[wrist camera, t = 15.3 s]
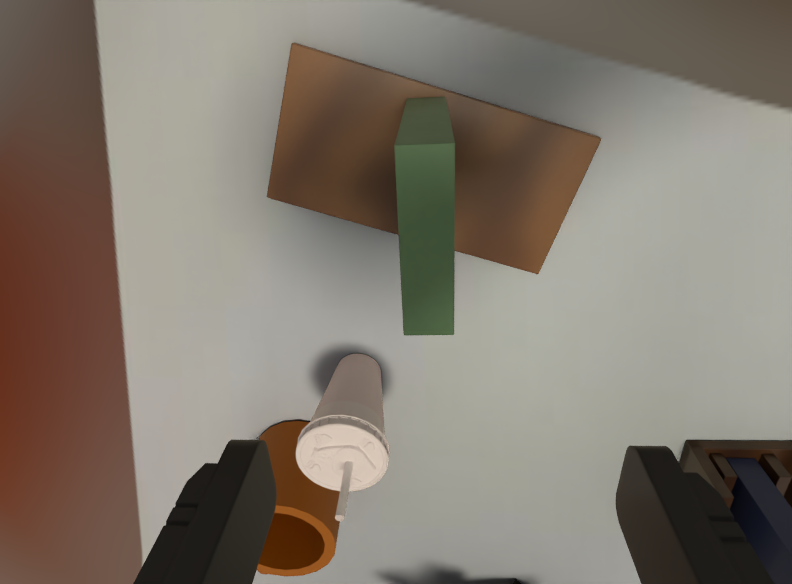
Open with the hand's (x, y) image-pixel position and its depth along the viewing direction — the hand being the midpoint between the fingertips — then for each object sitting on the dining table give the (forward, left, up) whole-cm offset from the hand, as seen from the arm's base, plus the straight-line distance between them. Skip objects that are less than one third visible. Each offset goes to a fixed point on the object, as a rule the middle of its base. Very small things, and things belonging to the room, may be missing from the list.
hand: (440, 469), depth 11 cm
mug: (+13, +28, -26) cm, 40 cm away
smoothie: (+6, +17, -26) cm, 32 cm away
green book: (0, 0, -25) cm, 25 cm away
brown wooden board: (0, 0, -26) cm, 26 cm away
